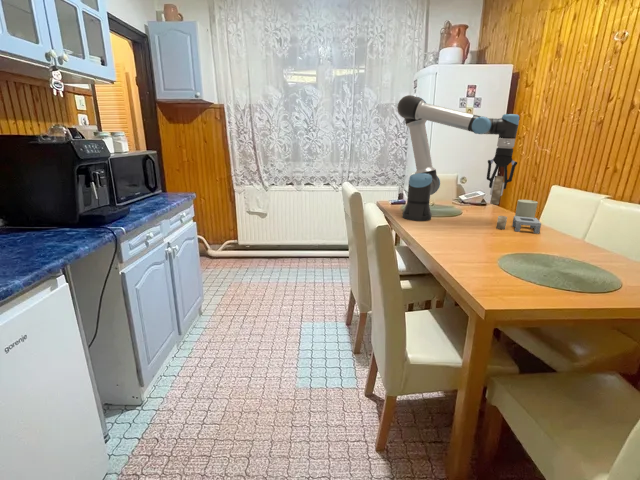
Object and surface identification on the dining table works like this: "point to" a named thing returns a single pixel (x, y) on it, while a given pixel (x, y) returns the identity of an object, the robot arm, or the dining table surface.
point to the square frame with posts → (526, 223)
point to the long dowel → (496, 190)
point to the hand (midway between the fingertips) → (495, 194)
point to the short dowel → (501, 222)
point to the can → (526, 208)
